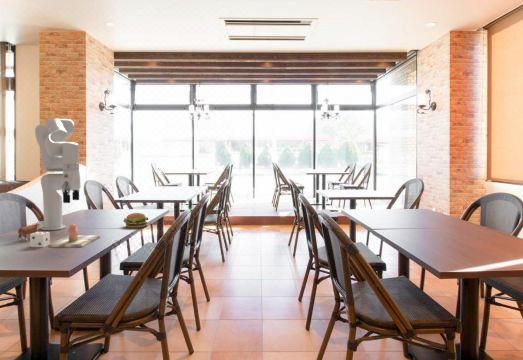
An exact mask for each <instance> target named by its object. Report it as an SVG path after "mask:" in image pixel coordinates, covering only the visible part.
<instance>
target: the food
mask: <svg viewBox="0 0 523 360" xmlns="http://www.w3.org/2000/svg"><path fill="white" fill-rule="evenodd" d="M122 221H123V223H125V227H127V228H130V229H136V228H137V229H138V228H139V229H140V228H143V227H144V228H145V227H146V226H147V224H148V221H149V217H147V216H146V215H145V214H144V213H140V212H133V213H132V212H131V213H130V214H127V216H126V217H124V218H123V220H122Z"/></svg>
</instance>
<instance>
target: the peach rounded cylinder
mask: <svg viewBox="0 0 523 360" xmlns="http://www.w3.org/2000/svg"><path fill="white" fill-rule="evenodd" d="M67 229H68V236H69V241H70V242H73V241H78V233H79V231H78V227H77V225H76V224H75V223H71V224H70V225H69V227H68V228H67Z"/></svg>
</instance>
